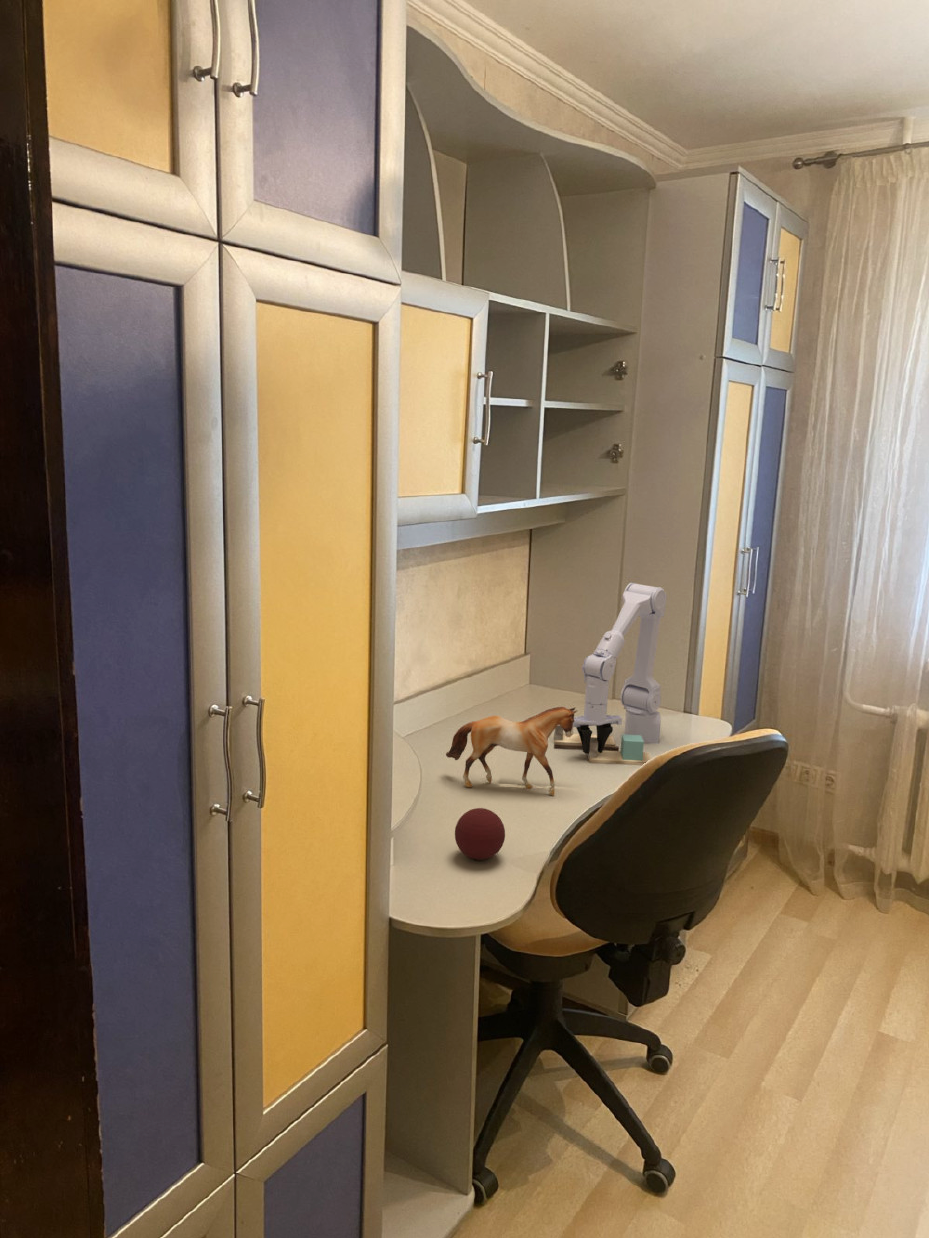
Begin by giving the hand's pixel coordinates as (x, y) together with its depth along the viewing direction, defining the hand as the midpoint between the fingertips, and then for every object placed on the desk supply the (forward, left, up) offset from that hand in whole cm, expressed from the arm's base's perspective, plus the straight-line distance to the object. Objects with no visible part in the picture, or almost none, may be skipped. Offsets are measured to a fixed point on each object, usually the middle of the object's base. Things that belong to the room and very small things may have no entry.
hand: (592, 752), depth 237 cm
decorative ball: (+28, +57, -3) cm, 63 cm away
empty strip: (+1, -12, -2) cm, 12 cm away
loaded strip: (-7, 0, -2) cm, 7 cm away
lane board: (+1, -5, -2) cm, 6 cm away
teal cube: (-10, 0, -1) cm, 10 cm away
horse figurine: (+22, +18, -3) cm, 28 cm away
